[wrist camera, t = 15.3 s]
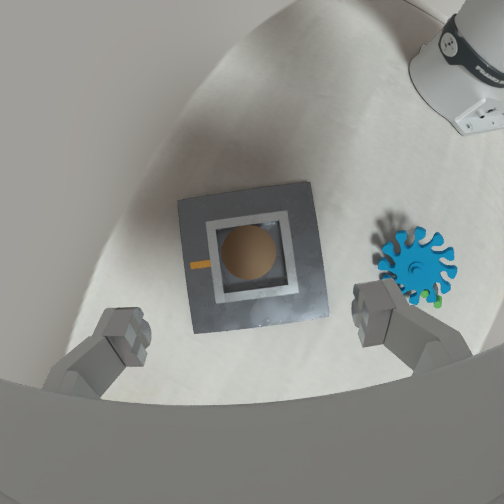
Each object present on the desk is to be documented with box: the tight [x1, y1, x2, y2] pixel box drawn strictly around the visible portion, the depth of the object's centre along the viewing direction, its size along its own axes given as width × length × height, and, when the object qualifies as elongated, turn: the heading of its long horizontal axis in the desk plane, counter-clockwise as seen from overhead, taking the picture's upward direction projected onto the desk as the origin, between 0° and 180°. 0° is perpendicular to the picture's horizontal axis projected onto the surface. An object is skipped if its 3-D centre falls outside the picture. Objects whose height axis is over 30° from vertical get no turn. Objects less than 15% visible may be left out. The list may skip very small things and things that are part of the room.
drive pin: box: [221, 225, 276, 280], centre depth 29 cm, size 4×4×10 cm
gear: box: [378, 226, 457, 308], centre depth 32 cm, size 11×6×10 cm
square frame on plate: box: [178, 182, 330, 334], centre depth 33 cm, size 16×16×3 cm
